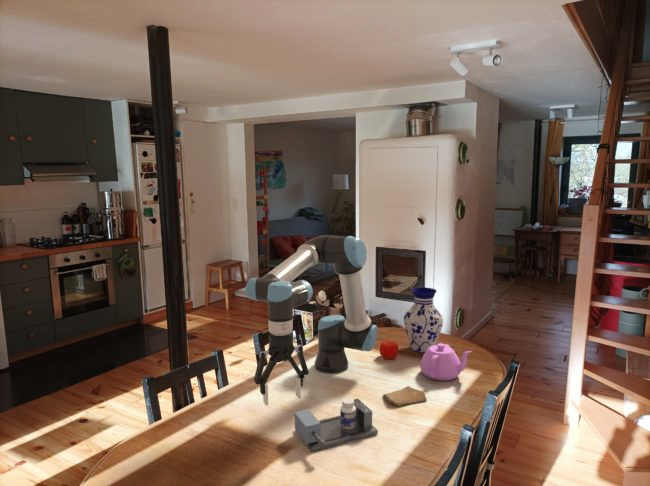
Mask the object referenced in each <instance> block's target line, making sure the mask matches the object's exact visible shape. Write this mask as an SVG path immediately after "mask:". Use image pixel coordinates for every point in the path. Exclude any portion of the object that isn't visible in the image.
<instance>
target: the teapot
mask: <svg viewBox="0 0 650 486" xmlns="http://www.w3.org/2000/svg"><path fill="white" fill-rule="evenodd" d="M472 352H473V350H467V351H464V352H463V353H462V357H461V361H460V359H459V357H458V355H457V354H456V352H455V350H454V349H453V348H451V346H450V345H449V344H444V343H441V342H440V343H439V342H438V343H436V345H434V346H431V347H429V349H428V350H427V351H426V352H425V353H423V355H422V358H421V360H420V365H419V366H420V367H419V368H420V371H421V372H422V373H423V375H424V376H425V377H427V378H429V379H431V380H434V381H435V380H436V381H441V382H442V381H444V382H445V381H447V382H448V381H452V380H454V379H456V378H457V377H458V376H459V375H460V374H461V372H463V371H464V370H465V369H466V366H467V361H468V360H467V359H468V356H469V354H470V353H472Z"/></svg>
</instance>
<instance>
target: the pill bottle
mask: <svg viewBox="0 0 650 486" xmlns="http://www.w3.org/2000/svg"><path fill="white" fill-rule="evenodd" d="M341 404H342V405H341V406H340V414H339V416H341V426H342V427H343V428H345V429H351V428H354V427H355V426H356V407H355V406H354V399H353V398H351V397H347V398H343V399H342V401H341Z"/></svg>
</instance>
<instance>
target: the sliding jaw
mask: <svg viewBox="0 0 650 486" xmlns="http://www.w3.org/2000/svg"><path fill="white" fill-rule="evenodd" d="M319 421H320V420H318V419H317V417H316V416H315V415H314V414H313V413H312V411H311V410H310V409H309V408H308V409H302V410H299V411H295V412H294V430H295V432H296V431H297V432H296V434H298V436H299V435H300V436H299V437H300V438H302V439H303V440H302V439H301V440H302V441H303V443H304V442H305V443H306V444H310V443H314V442H318V445H319V447H321V448H323V447H324V446H325V441H324V440H321V423H320V422H319ZM305 443H304V444H305ZM306 444H305V445H306Z"/></svg>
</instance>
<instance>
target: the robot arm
mask: <svg viewBox="0 0 650 486" xmlns="http://www.w3.org/2000/svg"><path fill="white" fill-rule="evenodd" d="M367 254H368V253H367V246H366V244H365V242H364V240H363V239H361V238H360V237H357V236H352V235H347V236H344V235H330V234H329V235H328V234H324V235H319V236H316V237H314V238H312V239H310V240H309V239H308V240H307V241H306V242H304V243H302V244H301V245H300V246H298V247H297V249H296V252H295V253H293V254H291V255H290V256H289V257H288V258H286V259H285V260H284V261H282V262H281V263H280V264H278V265H277V266H276V267H274V268H272V270H271V271H269V272H267V273H266V274H265V275H264V276H262V277H252V278H250V279H248V281H246V285H245V294H246V297H247V298H248V299H250V300H254V301H257V302H265V303H267V309H268V312H267V313H268V315H267V316H268V318H267V319H268V321H267V322H268V326H267V327H268V348H267V350H264V351H263V350H259V351H258V358H259V359H258V360H257V361H258V362H257V366H256V369H255V373H254V377H253V381H254V383H255V384H256V385H259V392H260V394H261V396H262V398H263V399H262V400H263V403H264V405H265V406H269V385H268V383H267V381H268V379H269V378H270V375H271V374H272V372H273V370H274V368H275V366H276V365H277V363H282V362H289V364H290V366H292V368H293V369H294V371H295V372H296V375H295V377H294V378H295V379H294V381H295V385H294V386H295V387H294V391H295V396H296V397H297V398H298V399H302V398H301V397H302V395H301V394H302V391H301V389H302V387H304V379H305V376H307V375H309V374H310V372H309V367H308V364H307V363H306V359H305V355H304V353H303V352H304V347H303V346H302V345H301V344H296V345H294V332H293V330H294V326H293V325H294V323H293V322H294V318H293V317H294V316H293V314H294V309H295V308H298V307H300V306H302V305H305V304H306V303H308V302H309V301H310V300H311V299H312V297H313V293H314V290H313V286H312V285H311V283H309V282H308V281H307V280H304V279H301V280H295V279H297V277H299V276H300V275H301V274H302V273H304V272H305V271H306V270H307V269H309V268H314V266H316V265H322V264H323V265H332V266H333V270H334V272H335V273H336V274H337V275H338V277H339V281H340V287H341V288H340V289H341V293H342V299H343V306H344V311H345V315H346V316H343V315H341V314H334V315H333V314H331V315H327V316H323V317H322V318H320V319H319V320H318V324H317V325H318V328H317V330H318V331H317V333H318V335H317V341H318V351H317V354H316V357H315V361H314V368H315V370H317V371H318V372H320V373H323V374H338V373H343V372H345V371H347V370H348V369H349V359H348V357H347V354H346V351H345V349H346V348H347V349H350V350H355V351H361V352H363V351H364V352H370V351H372V350H373V349H374V347H375V345H376V341H377V339H378V334H379V333H378V332H379V331H378V326H377V325H376V324H373V323H372V319H371V318H370V316H368V314H367V310H366V302H365V295H364V290H363V283H362V277H361V271H362V269H363V267H365V264H366V261H367ZM294 280H295V281H294ZM345 317H346V318H345ZM294 352H295V353H296V354H297V357H298V361H299V364H300V366H301V369H300V367H299V366H298V364H297V362H296V361H295V360H294V358H293V356H292V355H293V353H294ZM268 356H269V359H268V363H267V365H266V366H265V363H266V359H267V358H268Z"/></svg>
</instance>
